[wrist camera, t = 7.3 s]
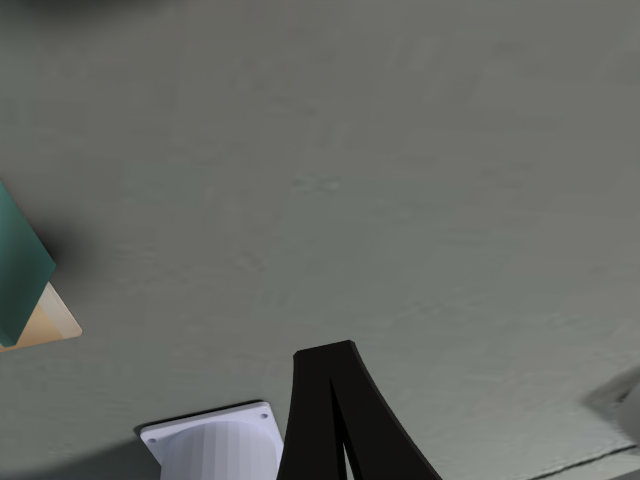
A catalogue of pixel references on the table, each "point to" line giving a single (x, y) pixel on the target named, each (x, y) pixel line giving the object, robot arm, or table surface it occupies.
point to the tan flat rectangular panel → (48, 322)
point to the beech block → (19, 270)
